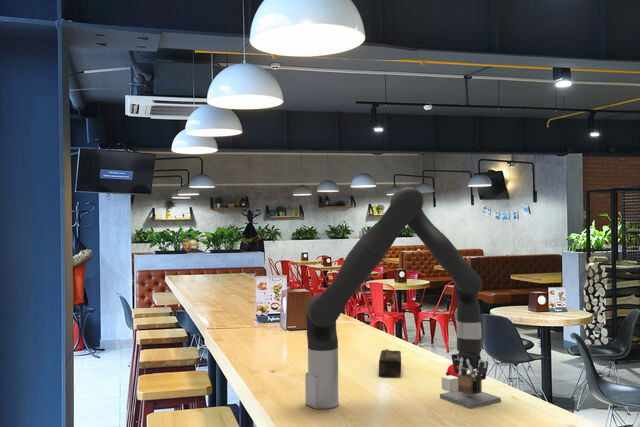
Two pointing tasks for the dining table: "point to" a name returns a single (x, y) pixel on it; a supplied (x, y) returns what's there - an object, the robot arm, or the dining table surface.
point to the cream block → (450, 383)
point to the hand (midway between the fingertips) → (469, 390)
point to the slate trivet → (470, 399)
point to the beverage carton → (390, 364)
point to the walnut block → (467, 384)
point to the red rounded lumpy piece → (451, 371)
